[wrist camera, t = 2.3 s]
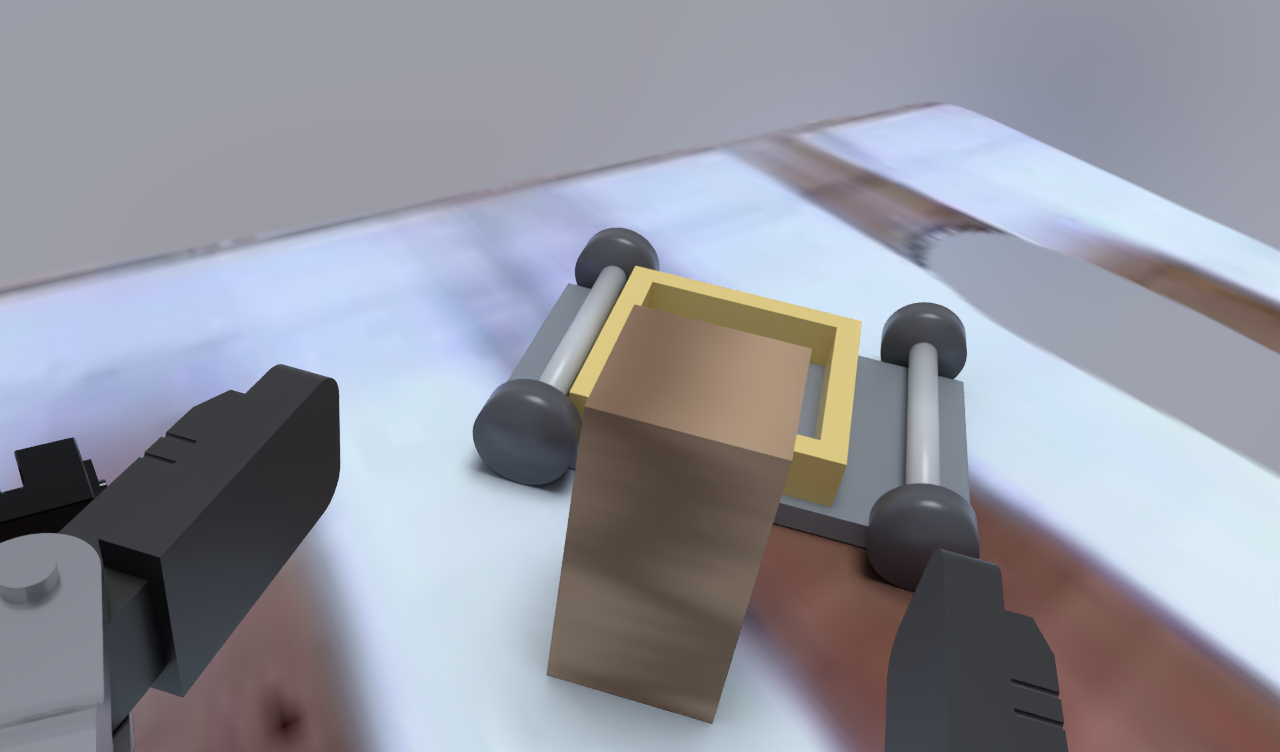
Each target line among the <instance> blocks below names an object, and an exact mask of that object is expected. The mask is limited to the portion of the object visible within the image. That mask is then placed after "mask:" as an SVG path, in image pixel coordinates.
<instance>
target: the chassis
mask: <svg viewBox="0 0 1280 752" xmlns="http://www.w3.org/2000/svg"><path fill="white" fill-rule="evenodd" d="M575 277H576V282H577V284H578V286H577V285H573V284H569V283H568V285H567V287H566V288H565V290H564V291H563V293H562V295H561V296H560V298H559V299H558V301H557V303H556V304H555V306H554V307H553V309H552V311H551V312H550V314H549V315H548V317H547V319H546V320H545V322H544V324H543V325H542V327H541V328H540V330H539V332H538V333H537V335H536V336H535V338H534V340H533V341H532V343H531V344H530V346H529V348H528V349H527V351H526V352H525V354H524V356H523V357H522V359H521V360H520V362H519V364H518V365H517V367H516V368H515V370H514V372H513V373H512V375H511V376H510V378H509V380H508V381H507V382H506V383H504V384H502V385H500V386H499V387H498V388H497V389H496V390H495V391H494V392H493V393H492V394H491V396H490V398H489V399H488V401H487V402H486V404H485V406H484V407H483V409H482V410H481V412H480V413H479V415H478V417H477V418H476V420H475V423H474V426H473V440H474V444H475V447H476V449H477V451H478V453H479V455H480V456H481V458H482V459H483V460H484V462H485V463H486V464H487V465H488V466H489V467H490V468H491V469H493V470H494V471H495V472H497V473H498V474H499V475H501V476H503V477H505V478H507V479H509V480H511V481H514V482H517V483H521V484H527V485H541V484H546V483H549V482H552V481H554V480H556V479H558V478H559V477H560V476H562V475H563V474H564V473H565V471H566V470H567V468H568V467H569V468H572V469H576V462H577V454H578V447H579V440H580V433H581V426H582V419H583V412H584V406H585V404H586V402H587V400H588V398H589V396H590V393H591V391H592V389H593V387H594V385H595V383H596V381H597V379H598V377H599V375H600V373H601V371H602V369H603V367H604V365H605V363H606V361H607V359H608V357H609V355H610V353H611V351H612V349H613V347H614V345H615V343H616V341H617V339H618V336H619V334H620V332H621V330H622V328H623V326H624V324H625V322H626V320H627V318H628V316H629V314H630V312H631V310H632V308H633V306H634V304H635V305H639V306H643V307H647V308H651V309H655V310H659V311H663V312H667V313H671V314H675V315H679V316H683V317H687V318H691V319H695V320H699V321H703V322H707V323H711V324H715V325H719V326H723V327H727V328H731V329H735V330H739V331H743V332H747V333H751V334H755V335H759V336H763V337H767V338H771V339H775V340H779V341H783V342H787V343H791V344H795V345H799V346H803V347H807V348H811V349H812V352H811V357H810V363H809V368H808V374H807V380H806V385H805V391H804V396H803V402H802V408H801V413H800V419H799V424H798V430H797V436H796V441H795V447H794V452H793V458H792V463H791V466H790V469H789V472H788V476H787V479H786V482H785V486H784V489H783V492H782V495H781V499H780V502H779V505H778V509H777V512H776V515H775V519H774V522H773V523H775V524H779V525H783V526H786V527H790V528H794V529H797V530H801V531H805V532H808V533H812V534H816V535H820V536H823V537H827V538H831V539H834V540H838V541H842V542H845V543H849V544H853V545H856V546H860V547H864V548H867V555H868V559H869V561H870V563H871V565H872V566H873V568H874V569H875V571H876V572H877V573H878V574H879V575H880V576H881V577H883V578H884V579H885V580H887V581H888V582H890V583H892V584H894V585H896V586H898V587H901V588H904V589H907V590H912V591H916V589H917V586H918V584H919V582H920V580H921V577H922V575H923V573H924V571H925V569H926V566H927V564H928V562H929V560H930V558H931V556H932V554H933V553H934V552H935V550H937V549H943V550H946V551H950V552H954V553H957V554H961V555H965V556H968V557H972V558H975V559H979V536H978V522H977V517H976V514H975V512H974V510H973V508H972V507H971V505H970V495H969V478H968V460H967V442H966V424H965V406H964V388H963V382H961V381H957V380H953V379H954V378H955V377H956V376H957V375H958V374H959V373H960V372H961V370H962V369H963V367H964V365H965V362H966V357H967V348H966V334H965V329H964V326H963V324H962V322H961V320H960V319H959V317H958V316H957V315H956V314H955V313H954V312H952V311H951V310H949V309H948V308H946V307H944V306H941V305H938V304H934V303H926V302H923V303H914V304H910V305H907V306H905V307H902V308H901V309H899V310H897V311H896V312H894V313H893V314H892V315H891V316H890V317H889V319H888V320H887V322H886V323H885V325H884V328H883V331H882V340H881V361H882V362H881V361H877V360H873V359H869V358H865V357H861V356H858V352H859V342H860V333H861V323H862V321H858V320H854V319H850V318H846V317H842V316H838V315H834V314H830V313H826V312H822V311H818V310H814V309H810V308H806V307H801V306H797V305H793V304H789V303H785V302H781V301H777V300H773V299H769V298H765V297H761V296H757V295H753V294H749V293H745V292H741V291H736V290H732V289H728V288H724V287H720V286H716V285H712V284H708V283H704V282H700V281H696V280H692V279H688V278H684V277H680V276H676V275H671V274H667V273H663V272H659V260H658V256H657V254H656V252H655V250H654V248H653V247H652V245H651V244H650V243H649V242H648V241H647V240H646V239H645V238H644V237H643V236H641V235H640V234H638V233H636V232H634V231H632V230H629V229H624V228H609V229H605V230H602V231H600V232H598V233H597V234H595V235H594V236H593V237H592V238H591V239H590V241H589V242H588V243H587V245H586V247H585V248H584V250H583V251H582V253H581V254H580V256H579V258H578V260H577V263H576V267H575Z"/></svg>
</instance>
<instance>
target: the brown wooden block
mask: <svg viewBox="0 0 1280 752" xmlns="http://www.w3.org/2000/svg"><path fill="white" fill-rule="evenodd" d="M811 352H812V349H811V348H807V347H803V346H799V345H795V344H791V343H787V342H783V341H779V340H775V339H771V338H767V337H763V336H759V335H755V334H751V333H747V332H743V331H739V330H735V329H731V328H727V327H723V326H719V325H715V324H711V323H707V322H703V321H699V320H695V319H691V318H687V317H683V316H679V315H675V314H671V313H667V312H663V311H659V310H655V309H651V308H647V307H643V306H639V305H635V304H634V306H633V308H632V310H631V312H630V314H629V316H628V318H627V320H626V322H625V324H624V326H623V328H622V330H621V332H620V334H619V336H618V339H617V341H616V343H615V345H614V347H613V349H612V351H611V353H610V355H609V357H608V359H607V361H606V363H605V365H604V367H603V369H602V371H601V373H600V375H599V377H598V379H597V381H596V383H595V385H594V387H593V389H592V391H591V393H590V396H589V398H588V400H587V402H586V404H585V406H584V412H583V419H582V426H581V433H580V440H579V447H578V454H577V462H576V469H575V476H574V483H573V490H572V497H571V505H570V512H569V519H568V526H567V533H566V540H565V548H564V555H563V562H562V569H561V576H560V583H559V591H558V598H557V605H556V612H555V619H554V626H553V633H552V641H551V648H550V655H549V662H548V669H547V675H549V676H552V677H556V678H559V679H562V680H566V681H569V682H573V683H576V684H579V685H583V686H586V687H589V688H593V689H596V690H600V691H603V692H606V693H610V694H613V695H617V696H620V697H623V698H627V699H630V700H633V701H637V702H640V703H644V704H647V705H650V706H654V707H657V708H661V709H664V710H667V711H671V712H674V713H677V714H681V715H684V716H688V717H691V718H694V719H698V720H701V721H705V722H708V723H711V724H712V723H713V719H714V716H715V713H716V710H717V706H718V703H719V700H720V696H721V693H722V690H723V687H724V683H725V680H726V677H727V673H728V670H729V667H730V663H731V660H732V657H733V654H734V650H735V647H736V644H737V640H738V637H739V634H740V631H741V627H742V624H743V621H744V617H745V614H746V611H747V607H748V604H749V601H750V598H751V594H752V591H753V588H754V584H755V581H756V578H757V575H758V571H759V568H760V565H761V561H762V558H763V555H764V551H765V548H766V545H767V542H768V538H769V535H770V532H771V528H772V525H773V522H774V519H775V515H776V512H777V509H778V505H779V502H780V499H781V495H782V492H783V489H784V486H785V482H786V479H787V476H788V472H789V469H790V466H791V463H792V458H793V452H794V447H795V441H796V436H797V430H798V424H799V419H800V413H801V408H802V402H803V396H804V391H805V385H806V380H807V374H808V368H809V363H810V357H811Z"/></svg>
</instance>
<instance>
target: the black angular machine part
mask: <svg viewBox="0 0 1280 752" xmlns="http://www.w3.org/2000/svg"><path fill="white" fill-rule="evenodd" d="M14 453H15V457H16V461H17V465H18V468H19V472H20V476H21V480H22V483H23V486H22V487H21V488H17V489H13V490H9V491H5V492H1V490H0V543H2V542H5V541H7V540H10V539H14V538H17V537H21V536H26V535H30V534H40V533H58V532H59V531H61V530H62V529H63V528H64V527H65V526H66V525H67V524H68V523H69V522H70V521H71V520H72V519H73V518H75V517H76V516H77V515H78V514H79V513H80V512H81V511H82V510H83V509H84V508H85V507H86V506H87V505H89V504H90V503H91V502H92V501H93V500H94V499H95V498H96V497H97V496H98V495H99V494H100V493H101V492H102V491H104V490H105V489H106V488H107V484H106V481H105V479H103V480H99V481H98V479H97V476H96V473H95V470H94V467H93V464H92V461H91V459H89V460H85V461H83V460H82V457H81V454H80V451H79V448H78V445H77V443H76V440H75V438H68V439H64V440H60V441H55V442H51V443H47V444H42V445H38V446H34V447H29V448H25V449H21V450H17V451H15V452H14Z"/></svg>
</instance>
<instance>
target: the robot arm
mask: <svg viewBox="0 0 1280 752" xmlns="http://www.w3.org/2000/svg"><path fill="white" fill-rule="evenodd" d="M339 473H340V422H339V389H338V385H337V382H336V381H335V380H334V379H332V378H329V377H326V376H322V375H319V374H315V373H311V372H308V371H304V370H301V369H297V368H293V367H290V366H286V365H282V364H279V365H276V366H274V367H272V368H271V369H270V370H269V371H268V372H267V373H266V374H265V375H264V376H263V377H262V378H261V379H260V380H259V381H258V382H257V383H256V384H255V385H254V386H253V387H252V388H251V389H250V390H249V391H248V392H247V393H246V394H244V393H240V392H237V391H233V390H229V391H227V392H225V393H223V394H220V395H218V396H216V397H214V398H212V399H210V400H208V401H205V402H203V403H201V404H199V405H197V406H195V407H193V408H192V409H191V410H190V411H188V412H187V413H186V414H185V415H184V416H183V417H182V418H181V419H180V420H179V421H178V422H177V423H176V424H174V425H173V426H172V427H171V428H170V429H169V430H168V431H167V432H166V436H165V437H164V438H163V437H161V438H159V439H158V440H157V441H156V442H155V443H154V444H153V445H152V446H151V447H150V448H149V449H148V450H147V451H145V455H144V457H143V458H140V457H139V458H138V459H137V460H136V461H135V462H134V463H133V464H131V465H130V466H129V467H128V468H127V469H126V470H125V471H124V472H123V473H122V474H121V475H120V476H119V477H118V478H116V479H115V480H114V481H113V482H112V483H111V484H110V485H109V486H108V487H107V488H106V489H105V490H104V491H102V492H101V493H100V494H99V495H98V496H97V497H96V498H95V499H94V500H93V501H92V502H91V503H90V504H89V505H87V506H86V507H85V508H84V509H83V510H82V511H81V512H80V513H79V514H78V515H77V516H76V517H75V518H73V519H72V520H71V521H70V522H69V523H68V524H67V525H66V526H65V527H64V528H63V529H62V530H61V531H59V532H58V533H40V534H30V535H26V536H21V537H17V538H14V539H10V540H7V541H5V542H2V543H0V752H135V732H134V718H133V712H132V709H133V708H134V706H135V705H136V704H137V703H138V701H139V700H140V699H141V698H142V696H143V695H144V694H145V693H146V692H147V690H148V689H149V688H150V687H152V688H155V689H158V690H161V691H164V692H168V693H171V694H174V695H177V696H180V697H184V695H185V694H186V693H187V692H188V690H189V689H190V688H191V686H192V685H193V684H194V682H195V681H196V680H197V678H198V677H199V676H200V674H201V673H202V672H203V671H204V669H205V668H206V667H207V665H208V664H209V663H210V661H211V660H212V659H213V657H214V656H215V655H216V653H217V652H218V651H219V650H220V648H221V647H222V646H223V644H224V643H225V642H226V640H227V639H228V638H229V636H230V635H231V634H232V632H233V631H234V630H235V629H236V627H237V626H238V625H239V623H240V622H241V621H242V619H243V618H244V617H245V615H246V614H247V613H248V612H249V610H250V609H251V608H252V606H253V605H254V604H255V602H256V601H257V600H258V598H259V597H260V596H261V594H262V593H263V592H264V591H265V589H266V588H267V587H268V585H269V584H270V583H271V581H272V580H273V579H274V577H275V576H276V575H277V573H278V572H279V571H280V570H281V568H282V567H283V566H284V564H285V563H286V562H287V560H288V559H289V558H290V556H291V555H292V554H293V552H294V551H295V550H296V549H297V547H298V546H299V545H300V543H301V542H302V541H303V539H304V538H305V537H306V535H307V534H308V533H309V532H310V530H311V529H312V528H313V526H314V525H315V524H316V522H317V521H318V520H319V518H320V517H321V516H322V514H323V513H324V512H325V510H326V509H327V507H328V505H329V504H330V502H331V499H332V497H333V495H334V492H335V489H336V486H337V483H338V479H339ZM1058 695H1059V685H1058V678H1057V671H1056V664H1055V657H1054V654H1053V652H1052V651H1051V649H1050V647H1049V645H1048V644H1047V642H1046V640H1045V639H1044V637H1043V635H1042V633H1041V632H1040V630H1039V628H1038V627H1037V625H1036V623H1035V622H1034V620H1033V618H1031V617H1028V616H1024V615H1021V614H1017V613H1014V612H1010V611H1007V610H1004V599H1003V589H1002V578H1001V571H1000V568H999V566H998V565H996V564H993V563H990V562H986V561H983V560H979V559H975V558H972V557H968V556H965V555H961V554H957V553H954V552H950V551H946V550H943V549H937V550H935V552H934V553H933V554H932V556H931V558H930V560H929V562H928V564H927V566H926V569H925V571H924V573H923V575H922V577H921V580H920V582H919V584H918V586H917V589H916V591H915V593H914V595H913V597H912V600H911V602H910V604H909V606H908V608H907V611H906V613H905V615H904V617H903V619H902V622H901V624H900V626H899V628H898V631H897V634H896V637H895V640H894V643H893V647H892V651H891V655H890V660H889V667H888V675H887V699H886V728H885V752H1068V747H1067V740H1066V734H1065V730H1063V724H1064V720H1063V713H1062V706H1061V700H1060V699H1058Z"/></svg>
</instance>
